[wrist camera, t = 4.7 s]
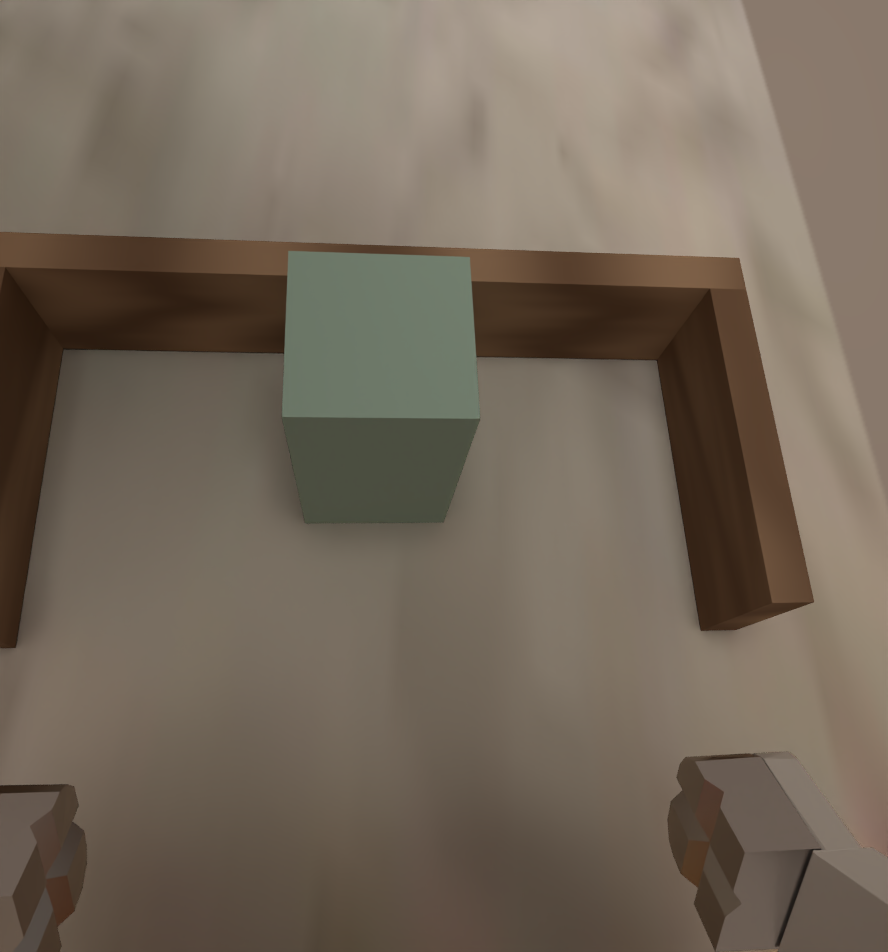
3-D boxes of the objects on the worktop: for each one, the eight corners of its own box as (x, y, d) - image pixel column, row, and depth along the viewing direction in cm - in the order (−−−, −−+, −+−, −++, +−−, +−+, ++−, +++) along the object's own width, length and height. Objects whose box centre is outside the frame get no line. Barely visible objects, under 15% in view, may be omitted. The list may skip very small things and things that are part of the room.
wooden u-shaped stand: (-29, 648, 22) (-121, 621, 18) (31, 317, 26) (-33, 230, 22) (736, 629, 24) (814, 602, 20) (683, 332, 28) (739, 258, 24)
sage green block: (305, 523, 24) (281, 417, 17) (308, 398, 26) (288, 251, 18) (443, 522, 25) (480, 418, 17) (438, 400, 26) (469, 256, 19)
